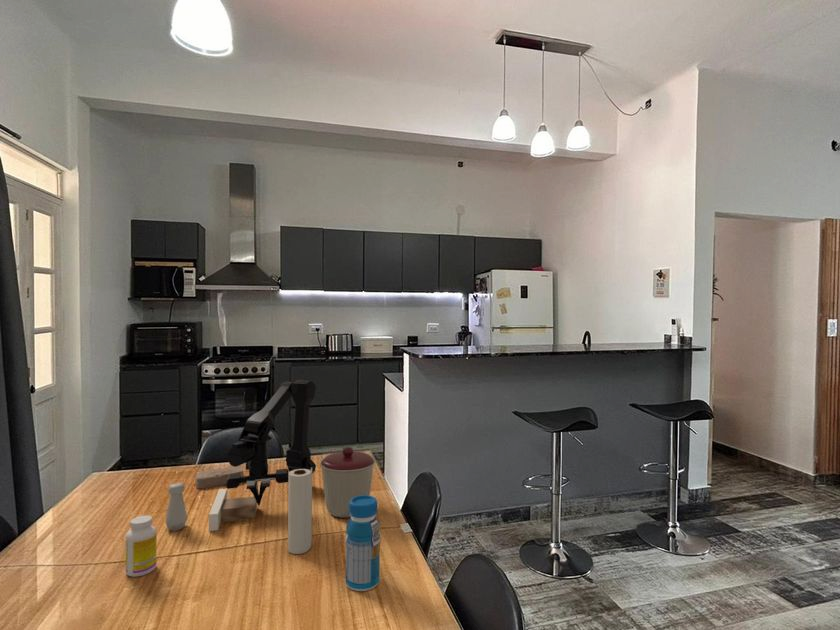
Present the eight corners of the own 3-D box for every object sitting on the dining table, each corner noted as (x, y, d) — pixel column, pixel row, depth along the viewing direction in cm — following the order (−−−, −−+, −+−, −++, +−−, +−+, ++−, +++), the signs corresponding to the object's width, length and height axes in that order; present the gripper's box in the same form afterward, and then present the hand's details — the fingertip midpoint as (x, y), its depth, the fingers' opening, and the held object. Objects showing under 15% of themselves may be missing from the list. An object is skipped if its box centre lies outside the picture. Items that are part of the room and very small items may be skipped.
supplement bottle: (162, 566, 118) (162, 516, 118) (139, 580, 112) (139, 527, 112) (143, 561, 120) (143, 512, 120) (119, 574, 114) (119, 522, 114)
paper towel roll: (290, 557, 123) (291, 477, 123) (285, 546, 129) (286, 469, 128) (317, 550, 127) (317, 472, 126) (311, 541, 132) (312, 466, 132)
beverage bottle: (350, 596, 106) (350, 509, 106) (341, 577, 114) (341, 496, 114) (384, 588, 110) (385, 504, 110) (373, 569, 118) (374, 491, 117)
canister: (316, 503, 158) (317, 441, 157) (368, 497, 163) (369, 437, 163) (322, 527, 140) (322, 457, 140) (380, 519, 146) (381, 452, 146)
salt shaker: (191, 525, 141) (191, 482, 141) (174, 533, 135) (174, 489, 135) (178, 521, 143) (178, 479, 143) (161, 529, 138) (161, 486, 138)
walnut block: (256, 508, 154) (256, 496, 154) (254, 518, 146) (255, 506, 146) (224, 511, 151) (224, 499, 151) (220, 522, 143) (220, 509, 143)
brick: (196, 490, 169) (196, 477, 169) (195, 482, 176) (195, 470, 176) (244, 482, 177) (244, 470, 177) (241, 475, 184) (241, 464, 184)
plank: (227, 503, 157) (227, 488, 157) (217, 530, 138) (218, 513, 138) (219, 504, 156) (219, 489, 156) (208, 531, 137) (208, 514, 137)
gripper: (288, 447, 160) (288, 491, 161) (230, 452, 155) (231, 498, 156) (288, 456, 150) (288, 504, 150) (225, 462, 145) (226, 512, 145)
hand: (258, 504), depth 150 cm, fingers closed
